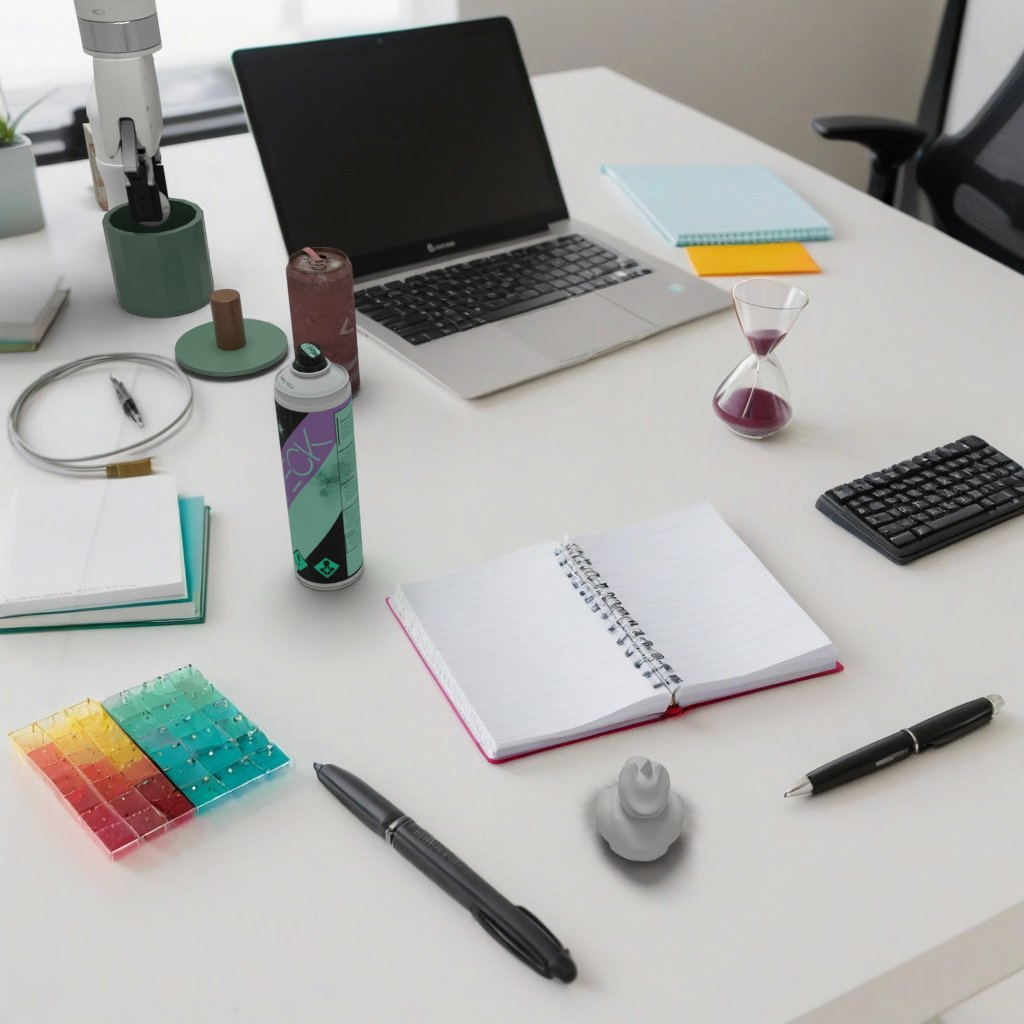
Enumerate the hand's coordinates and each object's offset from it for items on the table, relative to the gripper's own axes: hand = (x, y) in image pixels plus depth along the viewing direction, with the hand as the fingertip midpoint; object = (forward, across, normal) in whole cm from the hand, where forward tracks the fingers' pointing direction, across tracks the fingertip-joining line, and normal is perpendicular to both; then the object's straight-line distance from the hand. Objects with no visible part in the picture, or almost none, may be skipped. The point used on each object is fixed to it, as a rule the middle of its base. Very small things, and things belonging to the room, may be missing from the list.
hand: (150, 209), depth 124 cm
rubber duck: (+10, +78, +37) cm, 87 cm away
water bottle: (+10, -13, -4) cm, 17 cm away
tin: (+10, 0, 0) cm, 10 cm away
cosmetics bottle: (+10, -28, -9) cm, 31 cm away
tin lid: (+10, +14, +8) cm, 19 cm away
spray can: (+10, +50, +18) cm, 54 cm away
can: (+10, +22, +18) cm, 30 cm away
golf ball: (+2, 0, 0) cm, 2 cm away
